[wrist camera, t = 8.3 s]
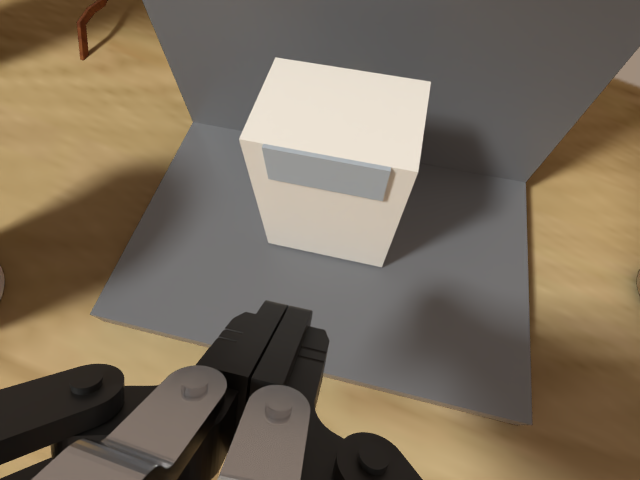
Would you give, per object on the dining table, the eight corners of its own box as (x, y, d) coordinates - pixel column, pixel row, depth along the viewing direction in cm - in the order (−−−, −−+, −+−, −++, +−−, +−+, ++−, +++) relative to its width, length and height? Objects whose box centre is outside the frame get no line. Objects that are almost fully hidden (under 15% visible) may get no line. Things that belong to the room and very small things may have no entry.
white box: (267, 245, 22) (237, 143, 14) (290, 178, 24) (275, 57, 16) (381, 270, 21) (417, 176, 13) (393, 198, 24) (431, 81, 16)
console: (103, 321, 22) (-165, 190, 10) (221, 92, 31) (157, -123, 19) (517, 425, 19) (849, 422, 7) (514, 142, 28) (659, -71, 16)
